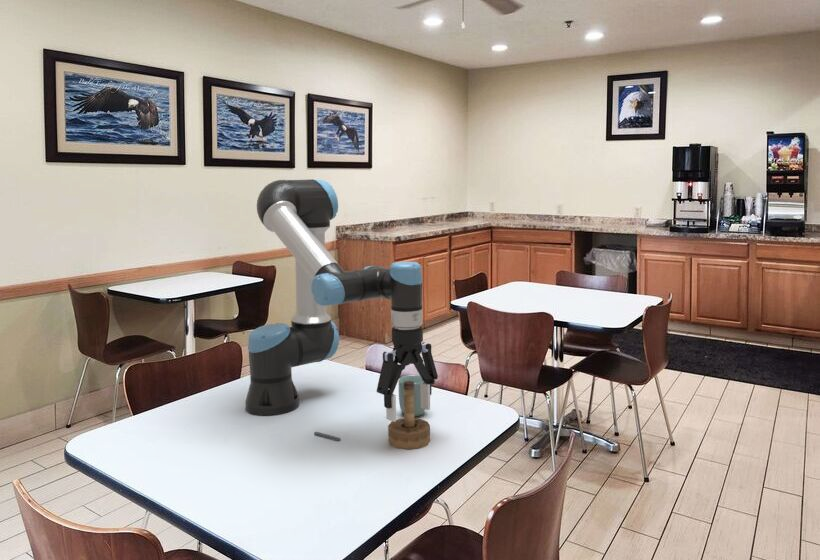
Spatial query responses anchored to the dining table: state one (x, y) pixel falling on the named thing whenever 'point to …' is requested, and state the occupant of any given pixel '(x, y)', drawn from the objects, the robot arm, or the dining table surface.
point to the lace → (327, 436)
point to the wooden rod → (409, 405)
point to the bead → (409, 434)
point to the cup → (417, 393)
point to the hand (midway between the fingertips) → (408, 414)
